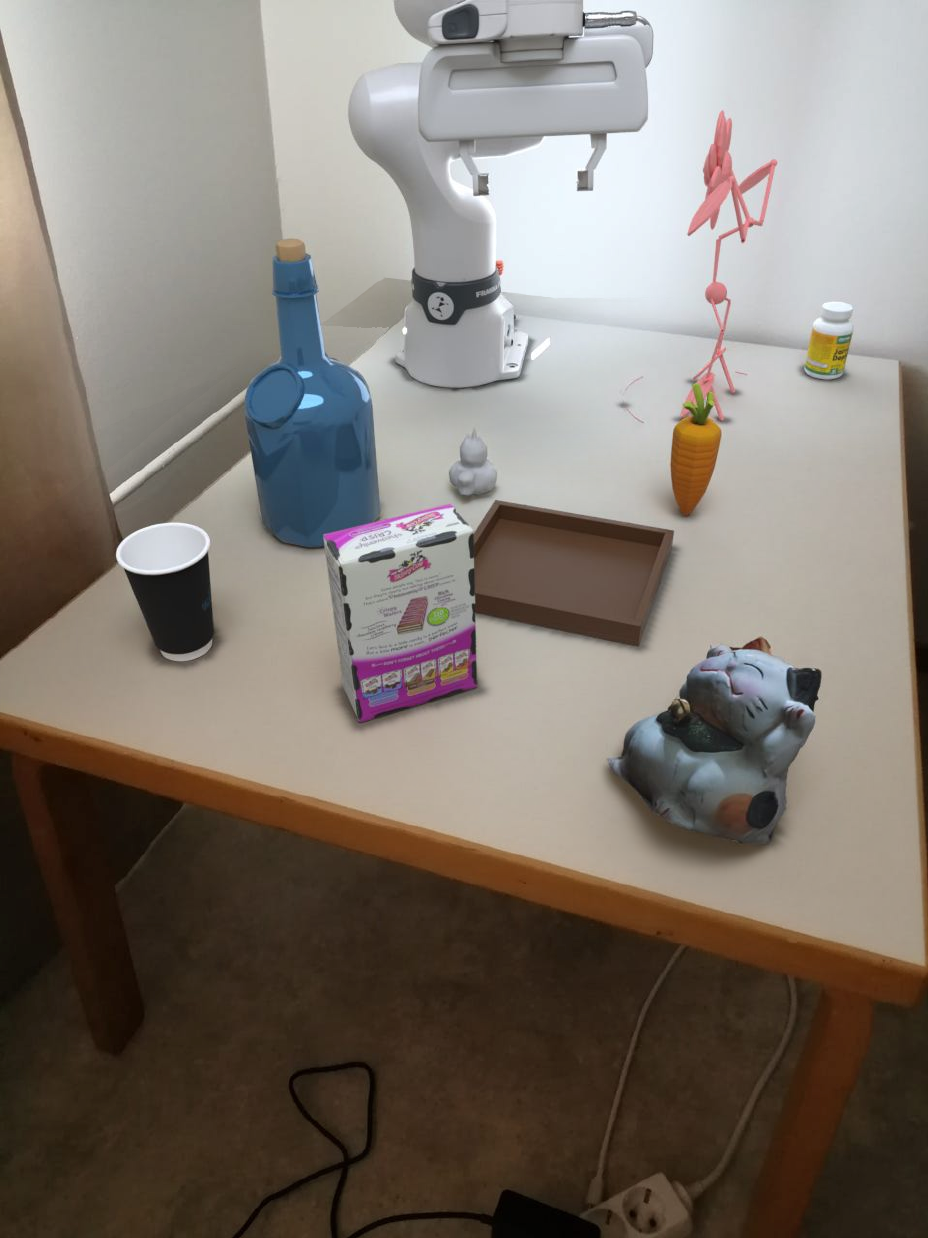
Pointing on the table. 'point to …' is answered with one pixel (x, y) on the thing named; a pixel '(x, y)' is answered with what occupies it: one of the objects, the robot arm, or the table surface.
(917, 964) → the table surface
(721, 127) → the figurine
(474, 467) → the rubber duck
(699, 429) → the carrot
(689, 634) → the table surface
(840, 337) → the supplement bottle
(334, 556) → the candy bar box
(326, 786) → the table surface
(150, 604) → the dixie cup
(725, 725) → the lucky cat figurine
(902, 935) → the table surface
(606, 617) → the serving tray
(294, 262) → the wine bottle
